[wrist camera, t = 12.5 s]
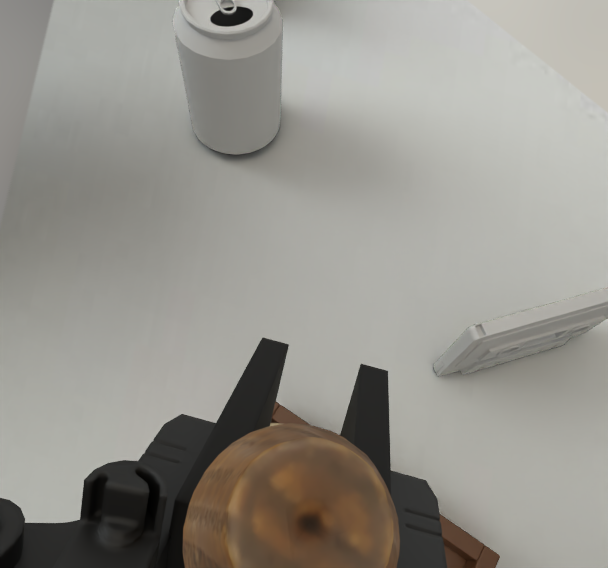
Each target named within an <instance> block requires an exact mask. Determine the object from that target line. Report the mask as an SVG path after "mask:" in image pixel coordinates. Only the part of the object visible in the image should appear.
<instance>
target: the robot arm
mask: <svg viewBox="0 0 608 568" xmlns="http://www.w3.org/2000/svg"><path fill="white" fill-rule="evenodd" d="M288 346H289V345H288V344H285V343H281V342H277V341H273V340H270V339H266V338H262V340H261V341H260V343H259V345H258V347H257V349H256V351H255V352H254V354H253V356H252V358H251V360H250V362H249V364H248V365H247V367H246V369H245V371H244V373H243V375H242V376H241V378H240V380H239V382H238V384H237V386H236V388H235V389H234V391H233V393H232V395H231V397H230V399H229V400H228V402H227V404H226V406H225V408H224V410H223V412H222V413H221V415H220V417H219V419H218V421H217V423H212V422H209V421H205V420H201V419H198V418H194V417H191V416H187V415H184V414H181V415H180V416H178V417H176V418H174V419H173V420H171V421H169V422H167V423H166V424H164V426H163V427H162V428H161V430H160V431H159V433H158V434H157V435H156V437H155V438H154V441H153V442H152V443H151V444H150V445H149V447H148V448H147V450H146V451H145V454H143V455H142V457H141V458H140V459H139V461H126V460H123V461H118V462H112V463H108V464H106V465H103V466H101V467H99V468H97V469H95V470H94V471H93V472H92V473H91V474H90V475H89V476H88V477H87V478H86V479H85V480H84V488H83V498H82V507H81V517H80V520H77V521H73V522H67V523H25V518H24V516H23V513H22V511H21V508H20V507H18V506H17V505H16V504H14V503H13V502H11V501H10V500H6V499H2V498H0V568H185V565H184V559H183V527H184V523H185V519H186V515H187V511H188V507H189V503H190V500H191V498H192V495H193V492H194V490H195V489H196V487H197V485H198V483H199V481H200V480H201V478H202V476H203V474H204V472H205V471H206V470H207V468H208V467H209V466H210V465H211V464H212V462H213V461H214V460H215V459H216V457H217V456H218V455H219V454H220V453H221V452H222V451H224V450H225V449H226V448H227V447H228V446H229V445H231V444H232V443H233V442H235V441H237V440H238V439H240V438H242V437H243V436H245V435H247V434H249V433H250V432H253V431H256V430H259V429H262V428H265V427H268V426H270V422H271V418H272V414H273V410H274V405H275V401H276V397H277V393H278V388H279V384H280V380H281V376H282V371H283V367H284V363H285V359H286V354H287V350H288ZM340 436H342V437H344V438H345V439H347V440H348V441H349V442H350V443H352V444H353V445H354V446H356V447H357V448H358V449H360V450H361V451H362V452H364V453H365V454H366V455H367V456H368V457H369V459H370V460H371V461H372V463H373V464H374V465H375V467H376V468H377V470H378V472H379V473H380V475H381V477H382V478H383V480H384V482H385V484H386V486H387V488H388V491H389V493H390V496H391V498H392V501H393V503H394V506H395V510H396V513H397V517H398V524H399V535H400V550H399V558H398V563H397V568H447V562H446V555H445V548H444V541H443V538H442V528H441V522H440V514H439V508H438V501H437V498H436V496H435V495H434V493H433V492H432V490H431V488H430V487H429V485H428V483H427V482H426V480H422V479H418V478H415V477H411V476H408V475H404V474H401V473H397V472H393V471H390V434H389V396H388V371H386V370H382V369H378V368H374V367H371V366H367V365H363V364H361V365H360V369H359V372H358V376H357V379H356V383H355V386H354V390H353V393H352V396H351V400H350V403H349V407H348V410H347V414H346V417H345V421H344V424H343V427H342V431H341V434H340Z"/></svg>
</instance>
